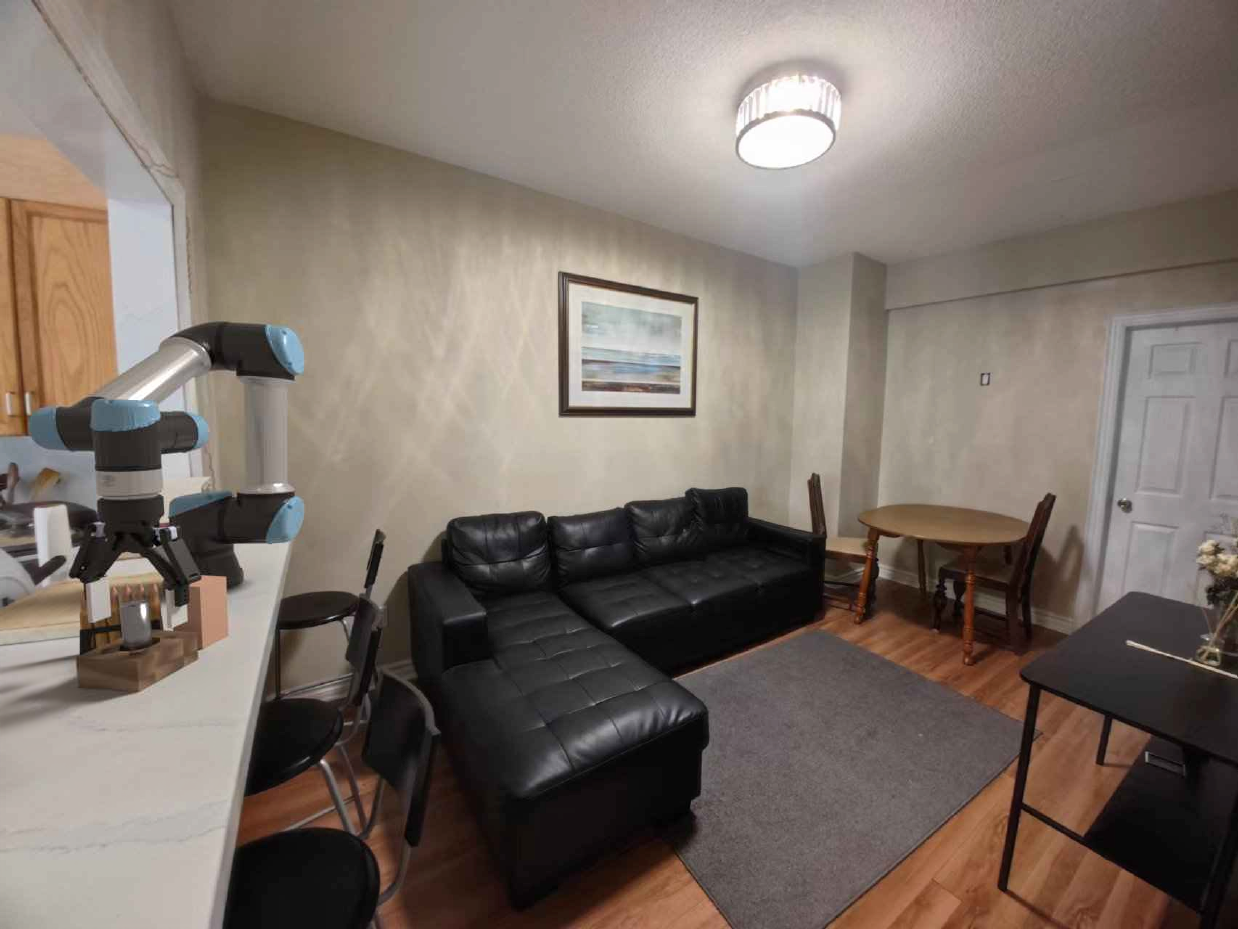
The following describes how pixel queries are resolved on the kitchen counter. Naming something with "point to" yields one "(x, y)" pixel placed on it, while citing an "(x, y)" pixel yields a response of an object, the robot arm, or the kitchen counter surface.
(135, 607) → the round peg
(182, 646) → the bore block
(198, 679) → the kitchen counter surface
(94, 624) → the ammunition clip
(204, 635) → the square peg
